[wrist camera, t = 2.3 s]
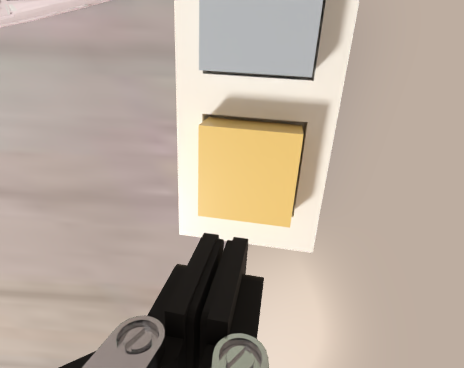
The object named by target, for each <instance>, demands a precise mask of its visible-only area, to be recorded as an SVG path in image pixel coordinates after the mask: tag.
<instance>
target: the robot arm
mask: <svg viewBox="0 0 464 368" xmlns="http://www.w3.org/2000/svg"><path fill="white" fill-rule="evenodd" d="M223 247H224V240H223V239H219V235H217V234H210V233H204V234H203V235H202V237H201V239H200V241H199V243H198V245H197V247H196V249H195V251H194V253H193V255H192V257H191V259H190V261H189V263H188V265H181V264H177V265H176V266H175V267H174V269H173V271H172V273H171V275H170V276H169V278H168V280H167V282H166V283H165V285H164V287H163V289H162V291H161V292H160V294H159V296H158V298H157V299H156V301H155V303H154V305H153V307H152V308H151V310H150V312H149V314H148V315H147V316H136V317H133V318H130V319H128V320H126V321H124V322H122V323H121V324H120V325H119V326H118V327H117V328H116V329H115V330H114V331H113V332H112V333H111V334H110V336H109V337H108V338H107V339H106V340H105V341H104V343H103V344H102V345H101V346H100V347H99V348H98V350H97V351H95V352H93V353H90V354H88V355H86V356H84V357H82V358H79V359H77V360H75V361H73V362H70V363H68V364H66V365H64V366H62V367H59V368H269V363H268V356H267V352H266V350H265V348H264V346H263V345H262V343H261V342H259V341H258V340H257V332H258V324H259V316H260V307H261V298H262V290H263V281H264V278H263V277H256V276H251V275H245V273H246V261H247V250H248V239H246V238H238V237H233V240H227V243H226V246H225V248H224V251H223Z"/></svg>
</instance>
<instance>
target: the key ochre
mask: <svg viewBox="0 0 464 368" xmlns="http://www.w3.org/2000/svg"><path fill="white" fill-rule="evenodd" d="M303 135H304V134H303V129H302V125H294V124H282V123H270V122H259V121H247V120H235V119H223V118H211V117H208V118H207V119H206V120H205V121H203V122H202V123H201V124H199V127H198V216H203V217H211V218H219V219H227V220H235V221H242V222H250V223H258V224H266V225H273V226H281V227H289V228H290V224H291V217H292V211H293V204H294V197H295V190H296V183H297V176H298V169H299V163H300V156H301V149H302V142H303Z"/></svg>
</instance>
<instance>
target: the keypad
mask: <svg viewBox="0 0 464 368" xmlns="http://www.w3.org/2000/svg"><path fill="white" fill-rule="evenodd" d="M359 1H360V0H323V5H322V11H321V18H320V25H319V32H318V39H317V46H316V53H315V60H314V66H313V73H312V77H300V76H284V75H268V74H252V73H237V72H221V71H205V70H199V0H174V11H175V57H176V103H177V149H178V195H179V234H180V235H187V236H195V237H202V235H203V234H204V233H210V234H217V235H219V239H223V240H224V241H227V240H233V237H238V238H246V239H248V244H253V245H260V246H267V247H274V248H282V249H289V250H296V251H304V252H311V253H312V252H313V247H314V242H315V237H316V232H317V226H318V221H319V215H320V210H321V205H322V200H323V194H324V189H325V183H326V178H327V173H328V167H329V162H330V157H331V151H332V146H333V141H334V135H335V129H336V125H337V119H338V114H339V108H340V103H341V98H342V93H343V87H344V82H345V76H346V70H347V66H348V60H349V55H350V49H351V44H352V39H353V34H354V28H355V22H356V18H357V12H358V7H359ZM208 117H211V118H223V119H235V120H247V121H259V122H270V123H282V124H294V125H302V129H303V134H304V135H303V142H302V149H301V156H300V163H299V169H298V176H297V183H296V190H295V197H294V204H293V211H292V217H291V224H290V228H289V227H281V226H273V225H266V224H258V223H250V222H242V221H235V220H227V219H219V218H211V217H203V216H198V127H199V124H201V123H202V122H203V121H205V120H206V119H207V118H208Z"/></svg>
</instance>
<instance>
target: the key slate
mask: <svg viewBox="0 0 464 368" xmlns="http://www.w3.org/2000/svg"><path fill="white" fill-rule="evenodd" d="M322 5H323V0H199V70H205V71H221V72H237V73H252V74H268V75H284V76H300V77H312V73H313V66H314V60H315V53H316V46H317V39H318V32H319V25H320V18H321V11H322Z"/></svg>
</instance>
